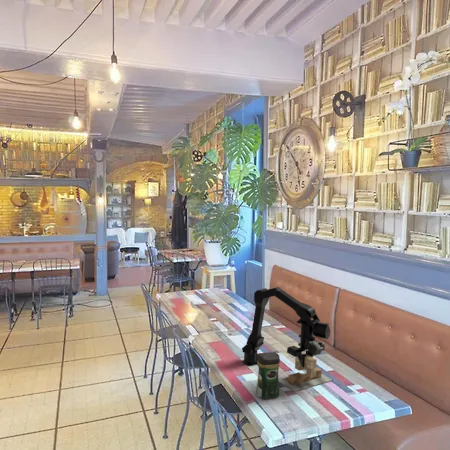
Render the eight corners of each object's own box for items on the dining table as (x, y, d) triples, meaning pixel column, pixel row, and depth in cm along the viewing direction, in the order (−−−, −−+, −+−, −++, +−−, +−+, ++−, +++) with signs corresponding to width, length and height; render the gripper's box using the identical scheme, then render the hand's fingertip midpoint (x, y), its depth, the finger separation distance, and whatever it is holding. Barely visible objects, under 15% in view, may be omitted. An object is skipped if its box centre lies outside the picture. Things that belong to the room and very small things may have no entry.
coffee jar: (273, 389, 165) (275, 348, 164) (281, 398, 158) (283, 355, 157) (253, 392, 163) (255, 350, 162) (260, 401, 155) (262, 357, 154)
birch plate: (310, 377, 169) (311, 360, 169) (294, 368, 179) (295, 351, 178) (315, 376, 171) (316, 359, 170) (299, 367, 180) (300, 350, 180)
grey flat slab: (293, 392, 164) (293, 383, 163) (276, 380, 174) (277, 372, 174) (332, 380, 176) (333, 372, 175) (314, 370, 186) (315, 362, 186)
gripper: (303, 342, 162) (301, 377, 163) (334, 336, 171) (332, 369, 172) (286, 334, 172) (285, 367, 173) (316, 329, 181) (315, 360, 182)
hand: (305, 366), depth 174 cm, fingers closed on birch plate, 3 cm apart
